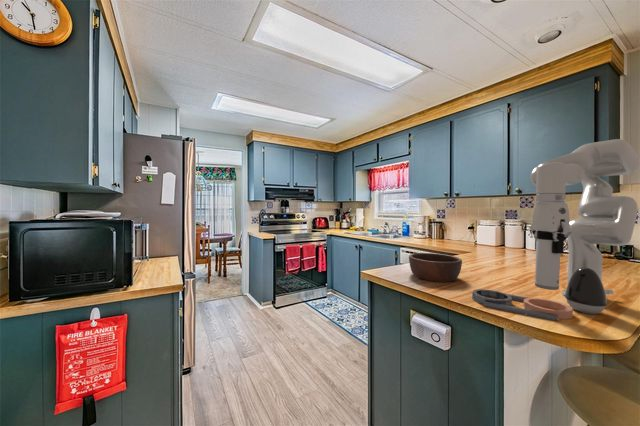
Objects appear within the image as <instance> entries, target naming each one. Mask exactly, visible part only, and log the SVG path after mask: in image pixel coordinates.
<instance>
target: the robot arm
mask: <svg viewBox="0 0 640 426" xmlns="http://www.w3.org/2000/svg"><path fill="white" fill-rule="evenodd" d="M639 168H640V158H639V156H638V154H637V153H636V151H635V149H634V148H633V147H632V145H631V144H630V143H628V142H627V141H626V140H624V139H619V138H615V139H609V140H603V141H597V142H596V141H595V142H589V143H585V144H582V145H581V146H579V147H577V148H576V149H574V150H573V151H571V152H570V153H568V154H565V155H561V156H559V157H555V158H553V159H550V160H546V161H544V162H542V163H540V164H538V165H537V166H536V167H534V168H533V170H532V171H531V173H530V181H531V182H530V183H532V184H533V185H534V186H535V187H536V189H535V190H536V191H535V204H534V209H533V216H532V224H531V225H530V226H529V229H530V231H531V232H532V233H531V234H532V235H533V238H534V240H535V241H534V250H535V251H536V241H537V240H536V238H537V231H540V232H551V233H552V236H553V239H554V241H552V253H560V255H561V254H564V245H565V244H564V242H566V240H567V243H568V247H567V248H568V254H567V255H568V261H567V262H568V264H567V283H568V282H569V280H570V278H571V276H572V275H573V273H574V272H575V271H576V270H577V269H579V268H590V269H592V270H594V271H595V272H596V273H597V274H598V276H599V277H600V279H601V281H602V279H603V255H602V252H601V251H600V250H599V248H598V247H597V246H596V245H604V246H616V247H617V246H618V247H621V246H622V247H623V246H627V245H628V244H629V243H631V240H632V237H633V234H634V228H635V224H636V220H637V216H638V209H639V207H638V203H637V201H636V200H635V199H634V198H633V197H630V196H626V195H625V196H624V195H621V196H620V195H615V196H612V195H613V192H614V188H613V186H611V184H610V183H609V182H608V181H606V180H604V179H603V178H601V177H609V176H610V177H611V176H612V177H613V176H625V175H632V174H633V173H636V172H637V171H638V169H639ZM579 183H581V185H582V189H583V190H582V193H581V197H580V200H579V203H578V206H577V215H578V217H580V218H577V219H572V220H570V219H571V218H570V210H569V206H568V203H566V197H567V196H566V187H567V186H573V185H574V186H575V185H577V184H579ZM557 231H558V232H557ZM557 234H559V236H557ZM604 290H605V293H606V295H614V291H613V290H612V289H610V288H609V289H605V288H604ZM565 292H566V289H564V290H562V291H561V294H562V295H563V296H565Z"/></svg>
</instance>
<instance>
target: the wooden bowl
mask: <svg viewBox="0 0 640 426" xmlns="http://www.w3.org/2000/svg"><path fill="white" fill-rule="evenodd" d="M408 263H409V267H410V271H411V273H412V275H413V276H414V277H416V278H418V279H421V280H423V281H424V280H425V281H430V282H438V283H449V282H453V281H456V280H457V278H458V277H459V275H460V273H461V269H462V266H463V265H462V264H463V260H462V258H460V257H457V256H454V255H451V254H450V255H449V254H442V253H432V252H421V253H420V252H419V253H418V252H417V253H411V254H409V256H408Z"/></svg>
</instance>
